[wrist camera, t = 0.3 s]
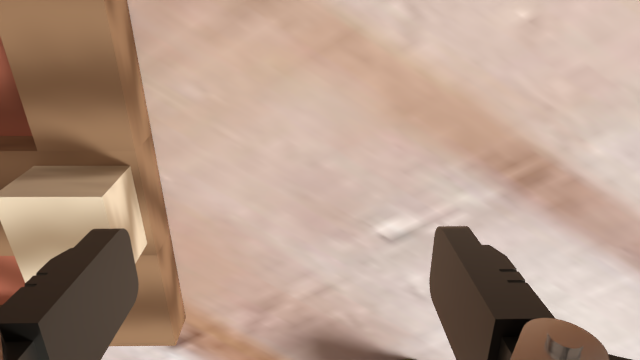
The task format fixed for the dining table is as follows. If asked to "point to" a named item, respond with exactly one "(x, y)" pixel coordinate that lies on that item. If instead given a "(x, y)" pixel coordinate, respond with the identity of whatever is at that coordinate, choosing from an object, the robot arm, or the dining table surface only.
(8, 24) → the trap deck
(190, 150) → the dining table surface
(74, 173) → the block
